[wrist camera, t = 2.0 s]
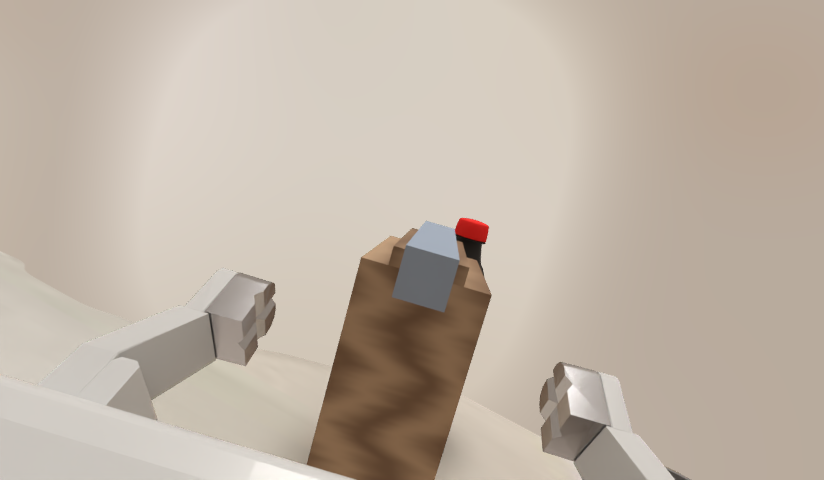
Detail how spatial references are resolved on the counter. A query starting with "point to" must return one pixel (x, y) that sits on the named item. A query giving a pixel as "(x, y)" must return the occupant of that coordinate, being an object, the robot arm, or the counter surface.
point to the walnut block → (397, 372)
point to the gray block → (428, 267)
